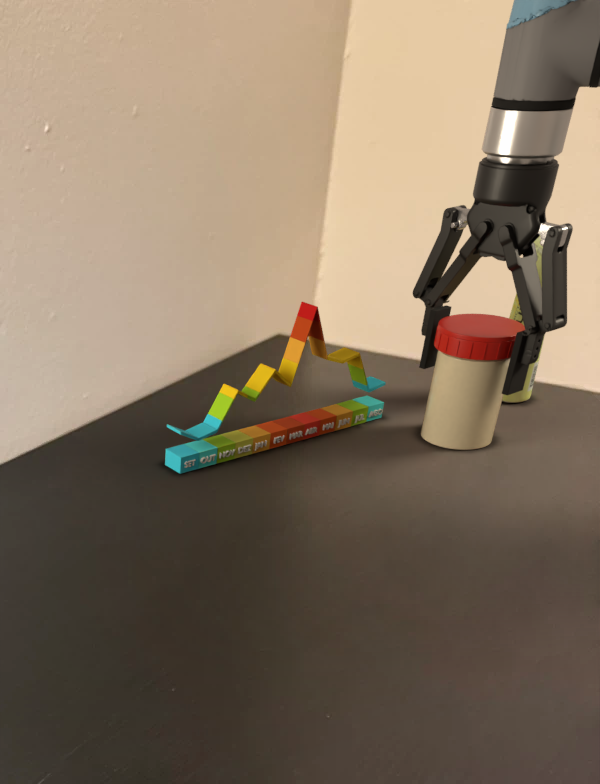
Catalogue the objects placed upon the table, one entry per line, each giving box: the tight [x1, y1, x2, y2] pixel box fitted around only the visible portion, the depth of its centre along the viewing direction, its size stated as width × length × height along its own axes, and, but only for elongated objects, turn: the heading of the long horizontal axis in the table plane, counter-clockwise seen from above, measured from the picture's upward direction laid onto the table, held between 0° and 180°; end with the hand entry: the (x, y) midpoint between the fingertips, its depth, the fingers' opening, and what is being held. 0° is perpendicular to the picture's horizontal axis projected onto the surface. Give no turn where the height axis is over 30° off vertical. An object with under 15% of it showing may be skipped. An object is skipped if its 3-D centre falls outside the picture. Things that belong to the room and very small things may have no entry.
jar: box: [420, 350, 510, 451], centre depth 112 cm, size 8×8×12 cm
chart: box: [164, 301, 387, 475], centre depth 112 cm, size 30×3×15 cm, turn 120°
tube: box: [502, 236, 546, 404], centre depth 120 cm, size 6×5×20 cm
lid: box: [434, 313, 525, 360], centre depth 109 cm, size 9×9×2 cm
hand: (469, 378), depth 112 cm, fingers open, 10 cm apart
